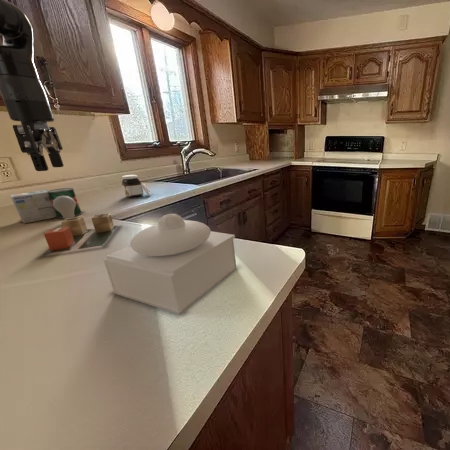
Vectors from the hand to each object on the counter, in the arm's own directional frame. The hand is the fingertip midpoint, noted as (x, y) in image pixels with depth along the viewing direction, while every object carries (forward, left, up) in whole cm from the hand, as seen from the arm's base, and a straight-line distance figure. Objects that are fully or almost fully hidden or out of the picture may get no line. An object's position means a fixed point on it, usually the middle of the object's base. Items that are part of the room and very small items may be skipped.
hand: (51, 168), depth 64 cm
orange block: (-4, +1, -22) cm, 22 cm away
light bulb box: (-26, +43, -23) cm, 55 cm away
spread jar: (+5, +72, -23) cm, 76 cm away
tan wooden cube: (-4, +12, -22) cm, 26 cm away
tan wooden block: (+4, +12, -22) cm, 25 cm away
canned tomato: (-17, +44, -23) cm, 53 cm away
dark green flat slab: (0, +6, -23) cm, 24 cm away
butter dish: (+28, -32, -23) cm, 48 cm away
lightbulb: (-11, +29, -23) cm, 39 cm away
